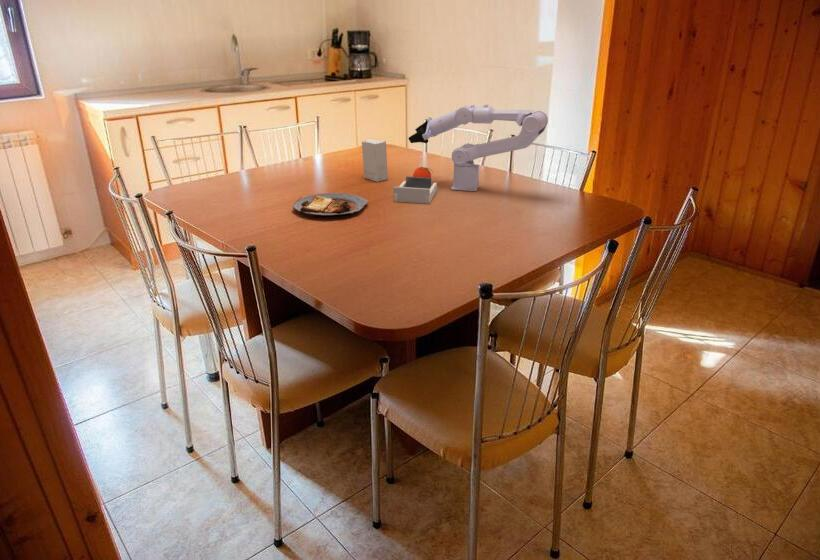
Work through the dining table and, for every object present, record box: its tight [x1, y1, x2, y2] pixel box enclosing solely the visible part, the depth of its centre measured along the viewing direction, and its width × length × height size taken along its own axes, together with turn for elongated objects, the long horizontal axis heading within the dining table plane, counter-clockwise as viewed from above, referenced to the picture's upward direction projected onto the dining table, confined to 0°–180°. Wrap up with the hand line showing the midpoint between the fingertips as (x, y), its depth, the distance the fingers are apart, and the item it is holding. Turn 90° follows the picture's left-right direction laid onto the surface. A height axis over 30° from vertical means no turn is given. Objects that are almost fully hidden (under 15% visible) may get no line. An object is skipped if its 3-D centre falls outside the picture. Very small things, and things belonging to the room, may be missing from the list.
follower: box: [405, 175, 433, 189], centre depth 212 cm, size 9×1×5 cm, turn 78°
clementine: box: [412, 166, 434, 178], centre depth 220 cm, size 8×7×7 cm
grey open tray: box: [393, 180, 438, 205], centre depth 208 cm, size 12×16×5 cm
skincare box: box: [361, 138, 389, 182], centre depth 227 cm, size 8×6×15 cm
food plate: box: [292, 192, 369, 217], centre depth 195 cm, size 25×23×4 cm
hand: (413, 135), depth 220 cm, fingers open, 7 cm apart
